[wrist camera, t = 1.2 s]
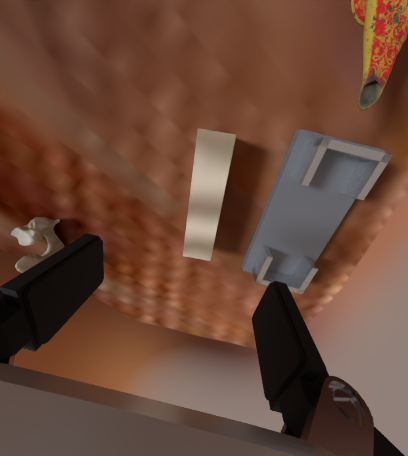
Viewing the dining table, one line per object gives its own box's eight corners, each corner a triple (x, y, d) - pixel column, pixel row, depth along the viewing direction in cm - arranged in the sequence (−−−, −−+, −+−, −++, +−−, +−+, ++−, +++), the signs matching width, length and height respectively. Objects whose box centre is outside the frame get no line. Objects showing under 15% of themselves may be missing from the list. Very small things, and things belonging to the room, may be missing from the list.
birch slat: (203, 132, 22) (197, 128, 18) (233, 137, 22) (236, 134, 18) (189, 239, 29) (182, 255, 25) (212, 243, 29) (210, 260, 25)
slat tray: (296, 130, 21) (301, 129, 20) (375, 150, 21) (385, 150, 20) (241, 265, 30) (242, 270, 29) (297, 279, 30) (300, 285, 29)
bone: (12, 200, 27) (-23, 240, 20) (64, 204, 31) (49, 240, 23) (23, 241, 32) (-3, 287, 24) (67, 241, 35) (55, 282, 28)
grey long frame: (309, 138, 20) (323, 137, 17) (370, 154, 20) (393, 155, 17) (252, 269, 28) (255, 282, 26) (294, 280, 28) (301, 294, 26)
